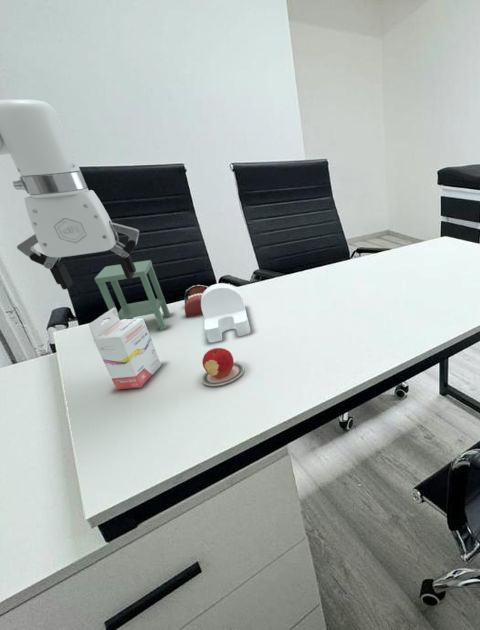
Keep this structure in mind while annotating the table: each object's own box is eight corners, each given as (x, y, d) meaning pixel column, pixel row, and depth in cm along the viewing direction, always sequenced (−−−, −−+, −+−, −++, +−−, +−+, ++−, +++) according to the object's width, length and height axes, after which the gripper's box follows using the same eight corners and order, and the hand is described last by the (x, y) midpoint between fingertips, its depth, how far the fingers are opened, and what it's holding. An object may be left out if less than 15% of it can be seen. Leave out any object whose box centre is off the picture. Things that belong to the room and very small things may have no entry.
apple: (248, 377, 79) (240, 350, 76) (205, 392, 75) (195, 364, 72) (239, 360, 85) (231, 335, 82) (199, 374, 81) (189, 347, 78)
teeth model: (178, 298, 102) (180, 284, 112) (185, 319, 105) (186, 304, 115) (213, 292, 106) (212, 279, 116) (219, 313, 108) (217, 299, 118)
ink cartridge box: (142, 388, 77) (113, 323, 71) (116, 390, 77) (84, 325, 70) (163, 364, 85) (138, 303, 78) (139, 366, 84) (112, 306, 78)
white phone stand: (208, 343, 92) (195, 302, 88) (208, 315, 107) (196, 278, 102) (251, 333, 96) (240, 293, 91) (245, 307, 111) (235, 271, 106)
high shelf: (120, 338, 97) (94, 278, 90) (128, 322, 105) (105, 266, 98) (166, 329, 100) (144, 271, 93) (170, 314, 109) (150, 260, 102)
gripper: (-24, 194, 58) (33, 298, 65) (113, 181, 64) (150, 278, 71) (0, 188, 64) (49, 284, 71) (123, 177, 70) (157, 267, 77)
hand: (100, 281), depth 71 cm, fingers open, 9 cm apart
